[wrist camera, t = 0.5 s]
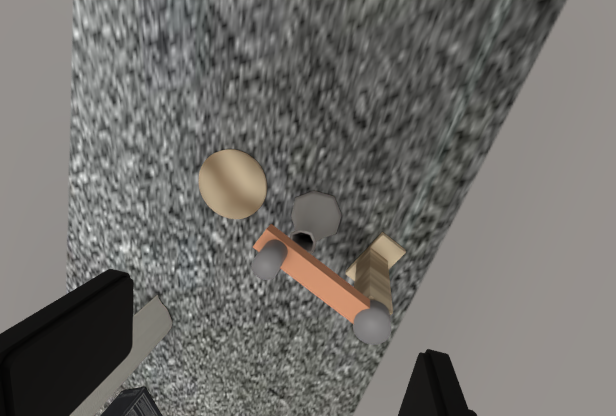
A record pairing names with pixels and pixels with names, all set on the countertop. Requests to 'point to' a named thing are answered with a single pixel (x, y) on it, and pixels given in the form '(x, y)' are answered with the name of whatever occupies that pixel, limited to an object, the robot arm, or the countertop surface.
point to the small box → (132, 404)
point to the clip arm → (321, 284)
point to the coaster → (232, 183)
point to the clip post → (376, 269)
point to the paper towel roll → (131, 353)
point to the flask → (314, 219)
